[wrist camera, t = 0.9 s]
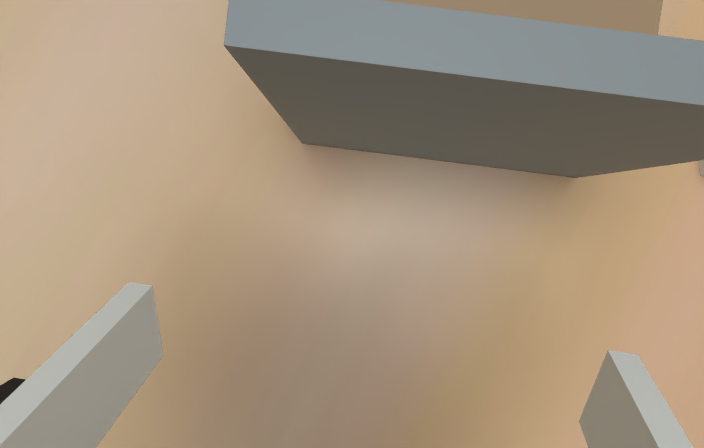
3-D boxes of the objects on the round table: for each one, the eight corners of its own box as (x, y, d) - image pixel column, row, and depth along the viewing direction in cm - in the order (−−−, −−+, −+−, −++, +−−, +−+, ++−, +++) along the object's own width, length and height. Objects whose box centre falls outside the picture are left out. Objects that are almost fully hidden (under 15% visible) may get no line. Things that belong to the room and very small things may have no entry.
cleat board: (576, 177, 37) (909, 131, 15) (302, 143, 37) (223, 45, 15) (601, 0, 36) (985, -324, 14) (324, -34, 36) (275, -411, 14)
